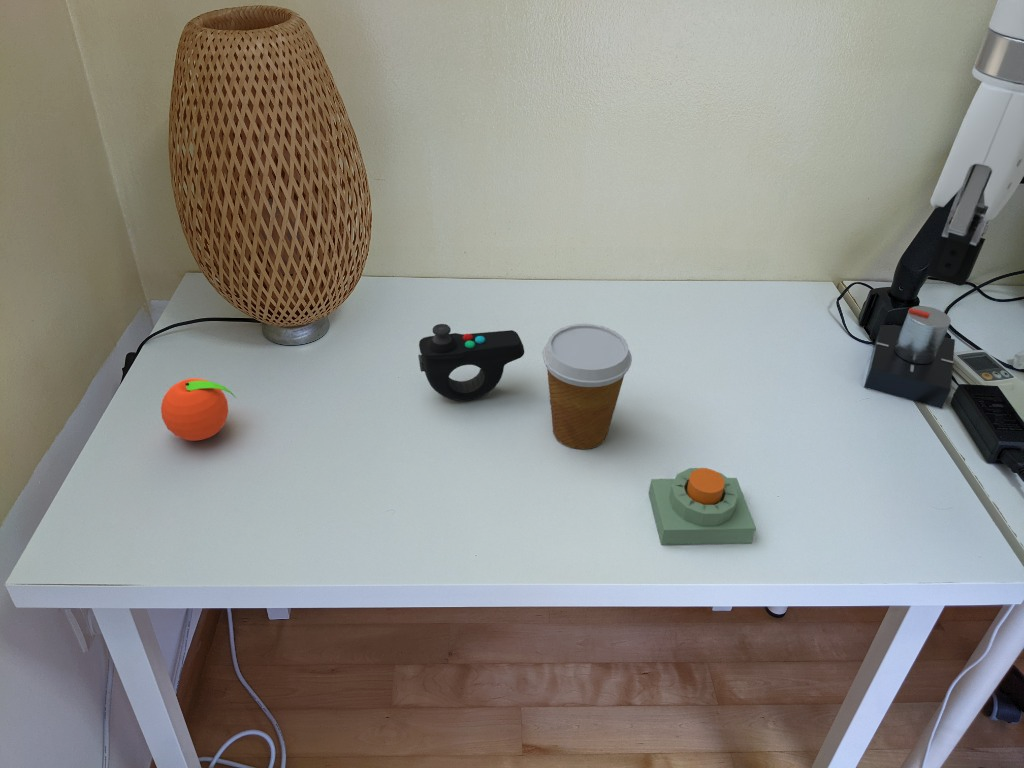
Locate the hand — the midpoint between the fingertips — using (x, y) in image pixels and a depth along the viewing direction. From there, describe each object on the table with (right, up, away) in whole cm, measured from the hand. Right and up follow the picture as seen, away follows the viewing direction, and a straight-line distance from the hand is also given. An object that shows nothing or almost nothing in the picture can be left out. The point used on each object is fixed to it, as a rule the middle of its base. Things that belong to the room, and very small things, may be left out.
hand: (946, 277), depth 68 cm
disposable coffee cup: (-31, -15, +21) cm, 40 cm away
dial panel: (+12, -8, +31) cm, 34 cm away
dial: (+12, -6, +29) cm, 32 cm away
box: (-20, -23, +10) cm, 32 cm away
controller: (-43, -11, +26) cm, 52 cm away
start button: (-19, -20, +8) cm, 29 cm away
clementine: (-73, -15, +20) cm, 77 cm away
